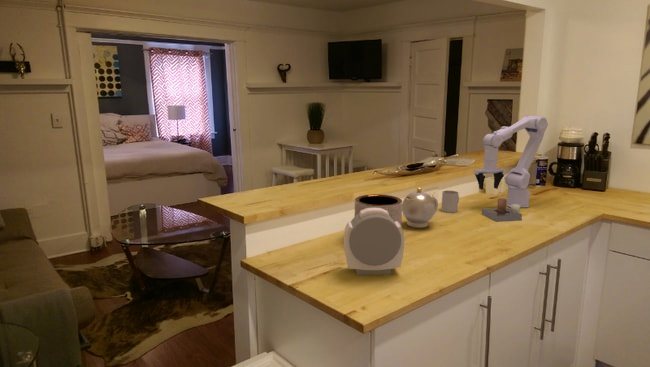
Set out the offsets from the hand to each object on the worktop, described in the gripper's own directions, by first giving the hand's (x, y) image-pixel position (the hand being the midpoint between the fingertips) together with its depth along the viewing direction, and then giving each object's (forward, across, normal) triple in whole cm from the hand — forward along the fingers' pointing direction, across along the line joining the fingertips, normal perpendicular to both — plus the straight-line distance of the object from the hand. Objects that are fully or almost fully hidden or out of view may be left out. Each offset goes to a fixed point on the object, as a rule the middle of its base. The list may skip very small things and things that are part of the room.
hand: (488, 188), depth 207 cm
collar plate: (+10, +1, +13) cm, 16 cm away
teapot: (+10, +41, +17) cm, 46 cm away
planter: (+10, +64, +31) cm, 72 cm away
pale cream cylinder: (+10, -9, +9) cm, 16 cm away
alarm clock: (+10, +75, +58) cm, 96 cm away
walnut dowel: (+10, +1, +13) cm, 16 cm away
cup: (+10, +18, -1) cm, 20 cm away
